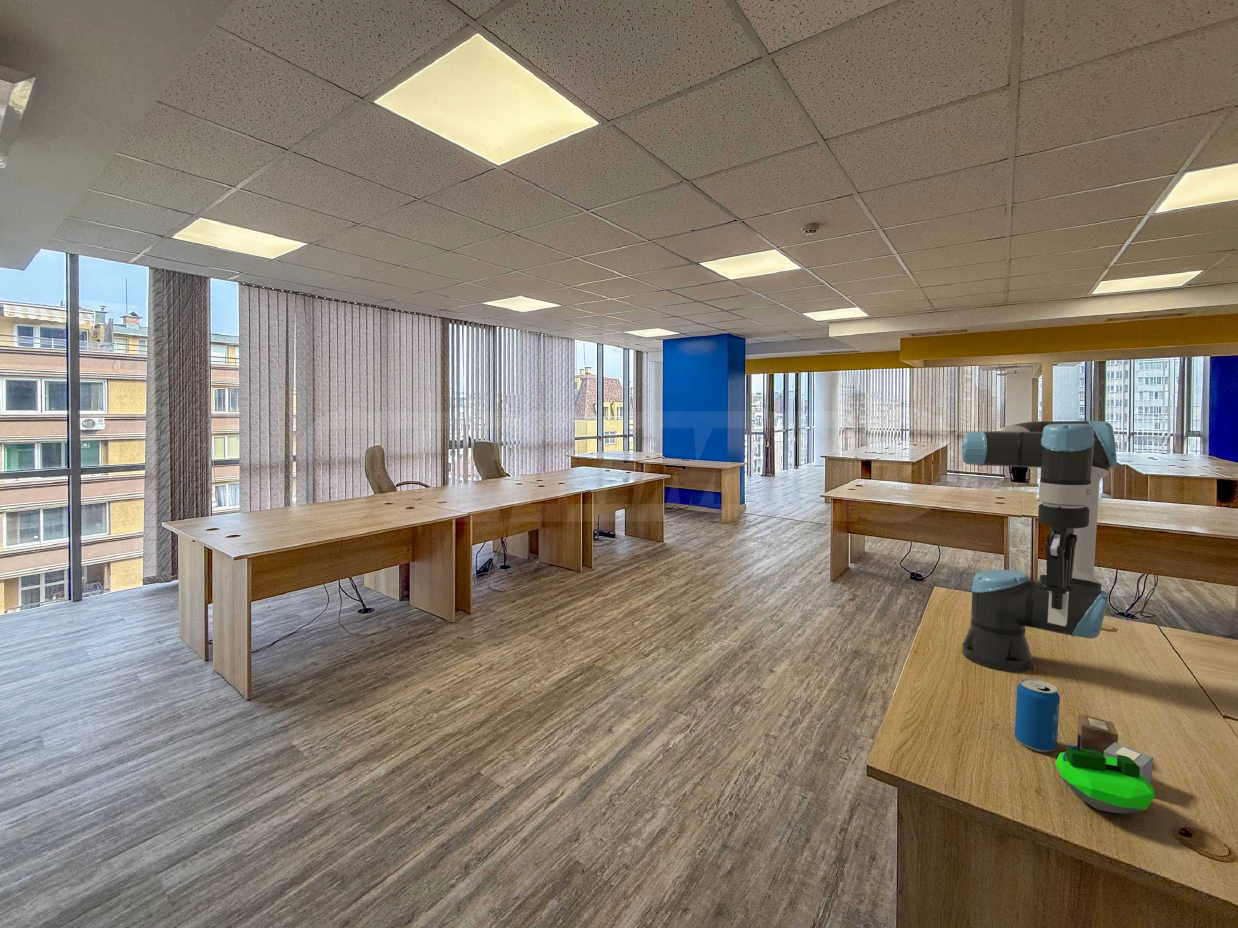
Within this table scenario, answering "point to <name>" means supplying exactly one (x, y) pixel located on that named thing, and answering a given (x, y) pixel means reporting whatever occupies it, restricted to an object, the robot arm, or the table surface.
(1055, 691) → the beverage can
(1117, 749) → the slate block
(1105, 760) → the green toy boat
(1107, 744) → the walnut block
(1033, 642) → the table surface
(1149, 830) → the table surface
